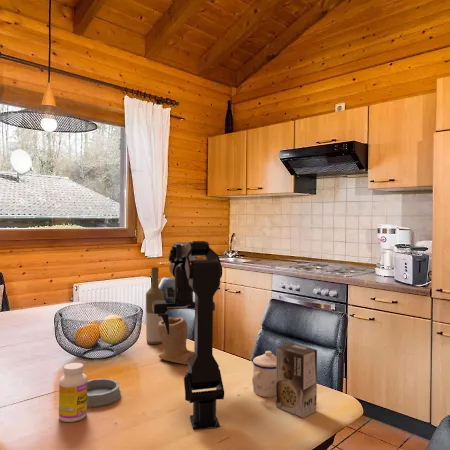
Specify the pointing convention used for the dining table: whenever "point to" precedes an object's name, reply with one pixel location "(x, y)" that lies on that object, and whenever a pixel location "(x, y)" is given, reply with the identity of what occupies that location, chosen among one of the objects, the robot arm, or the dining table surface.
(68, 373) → the supplement bottle
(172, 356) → the tan boot-shaped piece
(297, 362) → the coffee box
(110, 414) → the dining table surface
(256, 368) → the teacup with lid
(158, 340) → the bottle
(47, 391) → the dining table surface
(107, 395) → the round bowl
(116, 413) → the dining table surface
